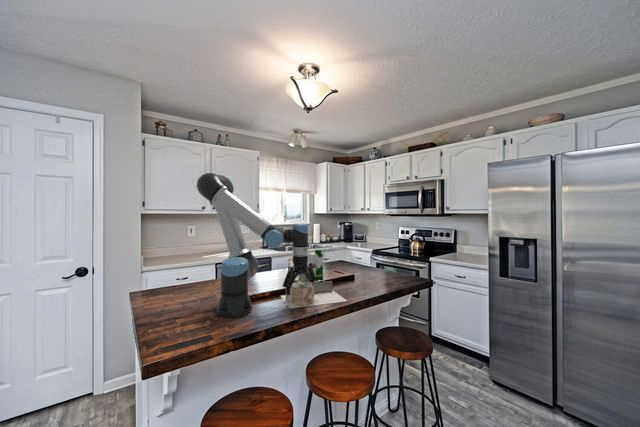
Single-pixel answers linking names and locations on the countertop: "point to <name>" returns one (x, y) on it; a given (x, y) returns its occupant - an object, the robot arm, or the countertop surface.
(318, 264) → the milk carton
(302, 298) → the beige rounded block
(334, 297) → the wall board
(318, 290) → the ledge rail
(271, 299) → the countertop surface
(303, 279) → the coffee can
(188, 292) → the countertop surface
